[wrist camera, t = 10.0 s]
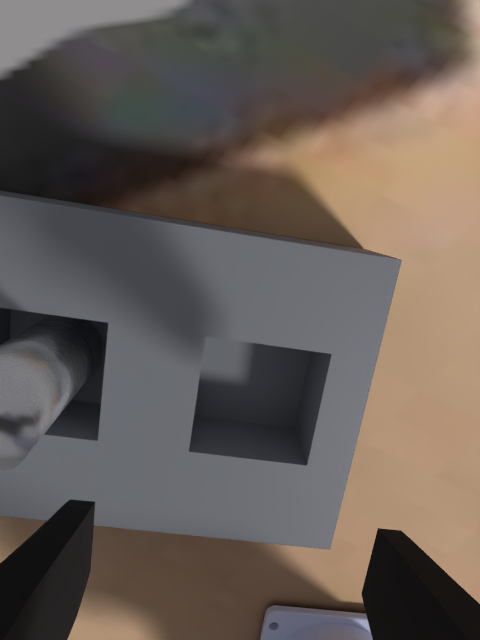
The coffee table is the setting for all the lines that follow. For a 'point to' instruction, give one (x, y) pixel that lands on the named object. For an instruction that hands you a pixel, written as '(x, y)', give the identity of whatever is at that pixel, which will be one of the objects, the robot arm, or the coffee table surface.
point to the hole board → (195, 370)
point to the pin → (42, 380)
